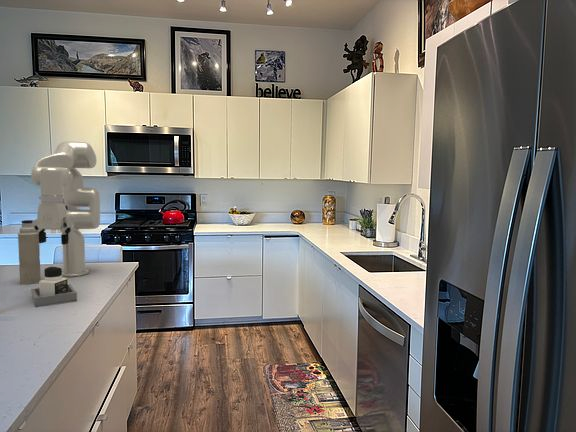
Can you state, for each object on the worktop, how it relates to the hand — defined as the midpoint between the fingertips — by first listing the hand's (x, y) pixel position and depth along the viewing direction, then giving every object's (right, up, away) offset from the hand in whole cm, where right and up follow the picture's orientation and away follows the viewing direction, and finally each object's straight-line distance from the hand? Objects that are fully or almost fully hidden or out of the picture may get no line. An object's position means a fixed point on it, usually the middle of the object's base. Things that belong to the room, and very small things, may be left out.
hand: (53, 243), depth 164 cm
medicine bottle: (-1, -22, +2) cm, 22 cm away
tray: (-1, -22, +2) cm, 22 cm away
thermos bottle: (-25, -19, +25) cm, 40 cm away
